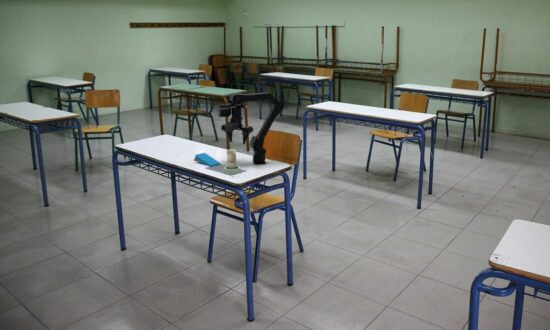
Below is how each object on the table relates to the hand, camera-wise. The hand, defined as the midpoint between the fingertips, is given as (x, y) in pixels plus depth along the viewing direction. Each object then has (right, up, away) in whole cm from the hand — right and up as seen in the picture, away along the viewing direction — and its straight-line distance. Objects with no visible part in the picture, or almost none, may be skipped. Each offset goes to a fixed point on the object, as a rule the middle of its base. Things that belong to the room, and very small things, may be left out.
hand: (237, 143), depth 270 cm
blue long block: (-19, -13, +5) cm, 24 cm away
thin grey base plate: (-6, -16, -9) cm, 19 cm away
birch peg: (-2, -16, -14) cm, 22 cm away
